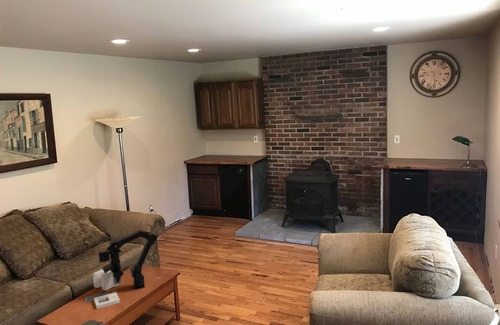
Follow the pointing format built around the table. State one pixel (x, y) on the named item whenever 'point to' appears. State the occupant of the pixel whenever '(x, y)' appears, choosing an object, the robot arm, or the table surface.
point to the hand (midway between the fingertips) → (117, 281)
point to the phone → (91, 298)
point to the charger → (116, 281)
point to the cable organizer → (103, 280)
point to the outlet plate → (106, 300)
